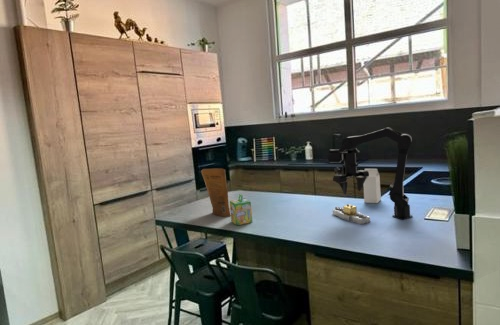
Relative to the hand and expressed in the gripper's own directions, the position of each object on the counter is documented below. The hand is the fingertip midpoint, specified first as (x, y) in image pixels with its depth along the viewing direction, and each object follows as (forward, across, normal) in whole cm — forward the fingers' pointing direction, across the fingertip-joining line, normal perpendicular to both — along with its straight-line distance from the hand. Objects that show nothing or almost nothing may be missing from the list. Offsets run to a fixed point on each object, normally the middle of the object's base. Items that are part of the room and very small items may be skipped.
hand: (352, 192), depth 170 cm
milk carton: (+12, -25, -12) cm, 30 cm away
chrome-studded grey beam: (+12, +4, +2) cm, 13 cm away
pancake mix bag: (+12, +53, -53) cm, 76 cm away
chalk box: (+12, +49, -31) cm, 59 cm away
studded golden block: (+12, +4, +2) cm, 13 cm away
